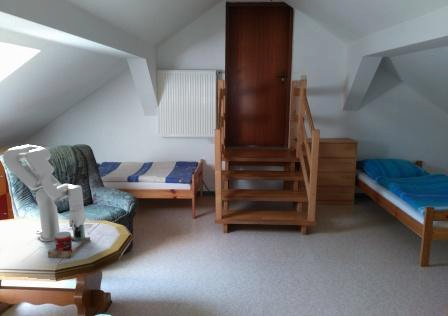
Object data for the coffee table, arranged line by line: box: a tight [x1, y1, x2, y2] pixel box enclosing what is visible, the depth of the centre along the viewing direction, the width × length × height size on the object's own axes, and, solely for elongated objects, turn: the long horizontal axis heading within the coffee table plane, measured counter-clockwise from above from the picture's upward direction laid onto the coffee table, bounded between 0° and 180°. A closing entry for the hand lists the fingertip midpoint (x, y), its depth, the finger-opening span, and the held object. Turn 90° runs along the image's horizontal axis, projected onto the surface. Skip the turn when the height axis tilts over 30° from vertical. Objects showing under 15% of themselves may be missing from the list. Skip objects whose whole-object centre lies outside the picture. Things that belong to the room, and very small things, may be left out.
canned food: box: [54, 231, 73, 252], centre depth 191 cm, size 8×8×11 cm
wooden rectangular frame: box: [47, 224, 91, 259], centre depth 197 cm, size 12×23×9 cm, turn 174°
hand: (79, 236), depth 208 cm, fingers closed on wooden rectangular frame, 2 cm apart
